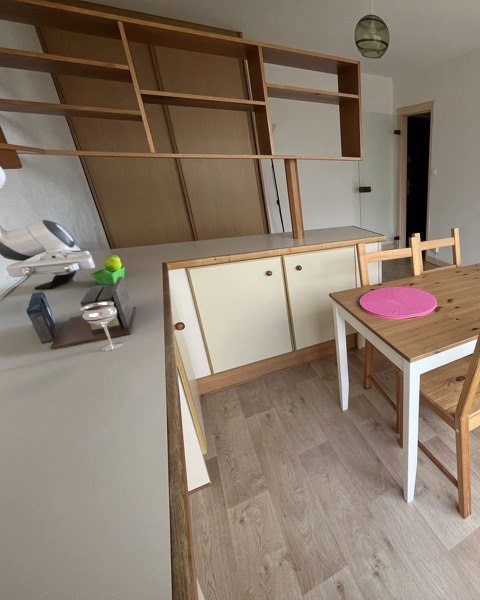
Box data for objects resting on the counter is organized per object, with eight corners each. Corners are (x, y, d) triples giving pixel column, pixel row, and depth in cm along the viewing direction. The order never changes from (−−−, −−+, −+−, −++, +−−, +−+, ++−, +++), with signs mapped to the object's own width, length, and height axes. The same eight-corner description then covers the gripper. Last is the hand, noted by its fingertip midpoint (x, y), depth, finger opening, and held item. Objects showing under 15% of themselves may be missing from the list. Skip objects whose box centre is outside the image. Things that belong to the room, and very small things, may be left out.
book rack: (51, 350, 83) (31, 305, 78) (71, 320, 100) (55, 281, 95) (130, 334, 92) (116, 293, 87) (136, 309, 109) (125, 273, 104)
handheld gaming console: (49, 277, 133) (59, 259, 131) (71, 286, 137) (80, 268, 135) (31, 290, 124) (40, 271, 121) (54, 298, 127) (64, 280, 125)
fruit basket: (108, 278, 140) (99, 253, 135) (132, 276, 142) (124, 252, 138) (94, 286, 130) (84, 259, 125) (120, 284, 132) (111, 258, 128)
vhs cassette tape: (45, 322, 98) (31, 292, 94) (58, 320, 100) (46, 290, 96) (38, 344, 86) (23, 311, 82) (54, 341, 87) (39, 308, 84)
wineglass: (129, 346, 86) (115, 306, 81) (96, 355, 81) (79, 313, 77) (126, 338, 90) (113, 299, 86) (94, 346, 85) (78, 305, 81)
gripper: (11, 256, 104) (-6, 266, 94) (94, 250, 115) (86, 258, 105) (20, 275, 107) (4, 286, 96) (99, 266, 117) (93, 275, 107)
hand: (47, 271), depth 100 cm, fingers open, 8 cm apart
